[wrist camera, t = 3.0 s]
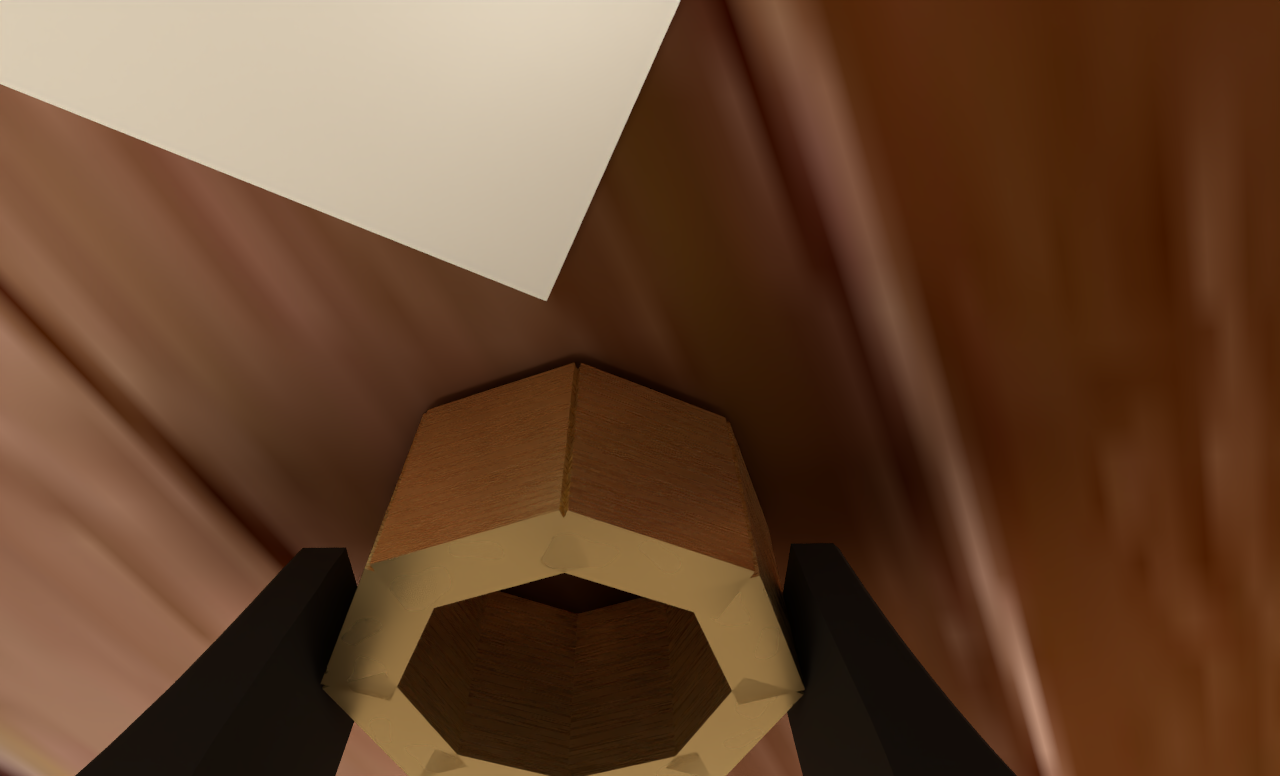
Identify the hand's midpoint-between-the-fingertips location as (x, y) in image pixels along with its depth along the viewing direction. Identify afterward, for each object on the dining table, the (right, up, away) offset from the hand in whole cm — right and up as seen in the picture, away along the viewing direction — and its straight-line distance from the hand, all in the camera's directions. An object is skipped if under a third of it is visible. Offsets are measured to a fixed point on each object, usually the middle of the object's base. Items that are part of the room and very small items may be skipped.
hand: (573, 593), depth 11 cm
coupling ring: (0, +1, +1) cm, 1 cm away
